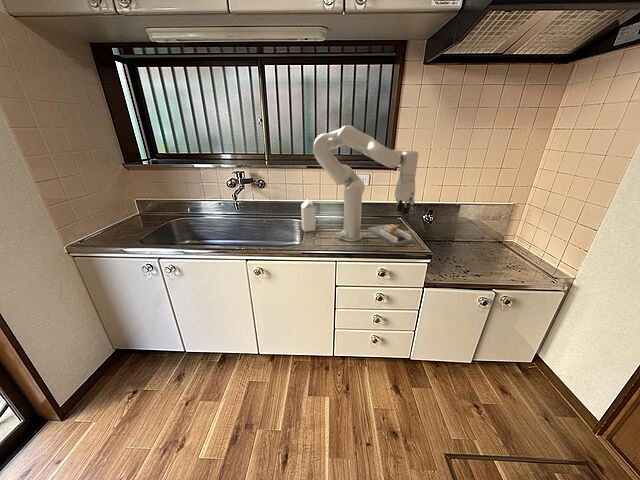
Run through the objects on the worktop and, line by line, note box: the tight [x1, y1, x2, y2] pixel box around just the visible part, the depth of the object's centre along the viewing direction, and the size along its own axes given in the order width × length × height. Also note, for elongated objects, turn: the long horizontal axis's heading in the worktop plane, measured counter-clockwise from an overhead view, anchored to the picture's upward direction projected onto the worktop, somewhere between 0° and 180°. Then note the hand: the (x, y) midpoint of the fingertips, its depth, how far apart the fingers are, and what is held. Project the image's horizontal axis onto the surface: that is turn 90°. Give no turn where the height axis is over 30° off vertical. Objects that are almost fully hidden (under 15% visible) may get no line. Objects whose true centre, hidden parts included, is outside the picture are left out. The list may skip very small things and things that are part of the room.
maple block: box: [384, 223, 399, 236], centre depth 145 cm, size 5×5×5 cm
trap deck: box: [367, 224, 413, 248], centre depth 147 cm, size 12×25×4 cm, turn 24°
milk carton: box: [300, 198, 316, 233], centre depth 155 cm, size 7×7×19 cm
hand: (402, 212), depth 133 cm, fingers open, 4 cm apart
